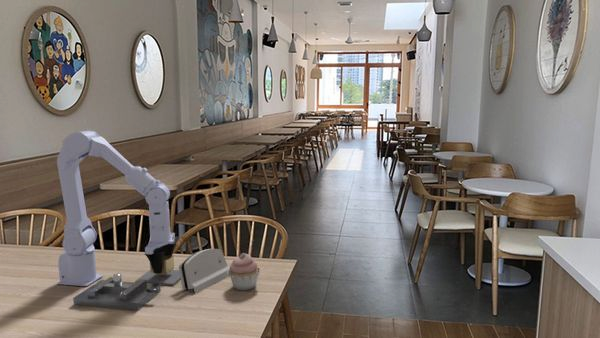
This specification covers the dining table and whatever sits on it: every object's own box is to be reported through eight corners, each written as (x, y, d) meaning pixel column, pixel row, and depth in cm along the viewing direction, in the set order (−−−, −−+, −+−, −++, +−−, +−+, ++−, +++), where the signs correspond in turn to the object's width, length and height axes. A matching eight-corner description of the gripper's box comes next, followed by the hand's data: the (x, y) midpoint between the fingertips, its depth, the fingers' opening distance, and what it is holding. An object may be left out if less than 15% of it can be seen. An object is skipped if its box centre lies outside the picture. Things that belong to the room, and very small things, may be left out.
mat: (135, 282, 131) (135, 280, 131) (152, 270, 141) (152, 268, 141) (173, 285, 129) (173, 283, 129) (188, 272, 139) (188, 270, 139)
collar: (150, 273, 133) (149, 260, 132) (158, 267, 138) (158, 254, 137) (166, 274, 132) (165, 261, 131) (174, 268, 137) (173, 255, 136)
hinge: (195, 293, 124) (184, 258, 124) (183, 295, 126) (173, 261, 127) (233, 273, 138) (224, 242, 138) (222, 275, 141) (213, 244, 141)
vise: (73, 305, 117) (71, 281, 116) (101, 286, 129) (100, 264, 128) (146, 311, 114) (145, 286, 113) (169, 291, 125) (167, 269, 124)
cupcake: (220, 286, 128) (219, 253, 127) (246, 277, 135) (245, 245, 134) (242, 296, 122) (241, 261, 121) (267, 286, 129) (267, 252, 127)
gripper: (160, 233, 125) (163, 279, 127) (183, 219, 139) (185, 261, 141) (137, 231, 126) (139, 278, 128) (161, 218, 140) (164, 260, 142)
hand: (162, 269), depth 135 cm, fingers closed on collar, 5 cm apart
